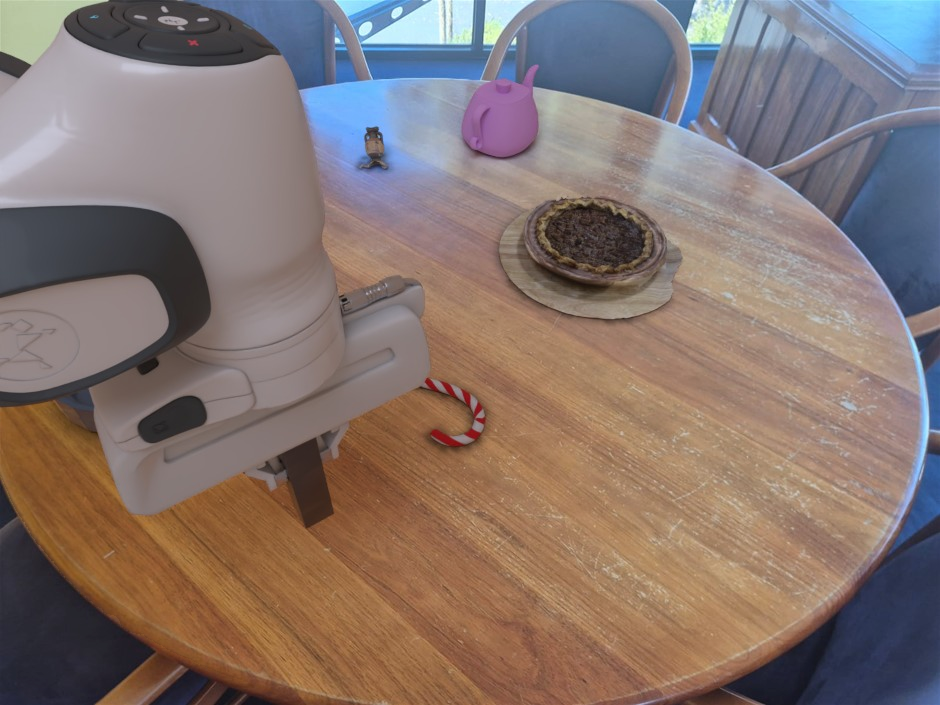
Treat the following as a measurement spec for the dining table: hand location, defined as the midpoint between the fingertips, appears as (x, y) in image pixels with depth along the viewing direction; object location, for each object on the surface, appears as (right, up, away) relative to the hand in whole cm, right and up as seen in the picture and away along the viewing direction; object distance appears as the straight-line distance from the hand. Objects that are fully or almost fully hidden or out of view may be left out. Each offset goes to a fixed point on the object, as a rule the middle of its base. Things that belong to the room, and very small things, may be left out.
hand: (301, 467), depth 44 cm
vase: (-5, +42, +67) cm, 79 cm away
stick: (0, -4, +4) cm, 6 cm away
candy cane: (+7, +2, +30) cm, 31 cm away
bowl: (-27, +6, +32) cm, 43 cm away
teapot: (+18, +48, +74) cm, 90 cm away
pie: (+30, +23, +51) cm, 63 cm away
